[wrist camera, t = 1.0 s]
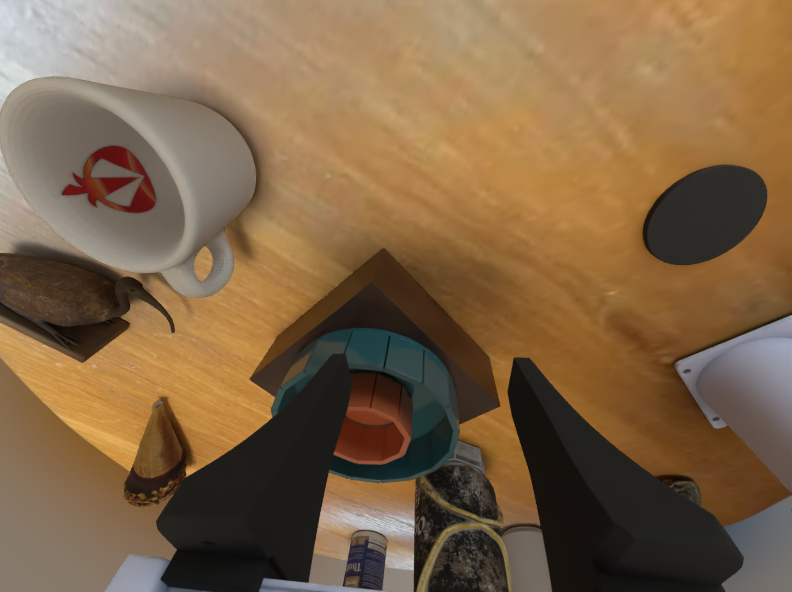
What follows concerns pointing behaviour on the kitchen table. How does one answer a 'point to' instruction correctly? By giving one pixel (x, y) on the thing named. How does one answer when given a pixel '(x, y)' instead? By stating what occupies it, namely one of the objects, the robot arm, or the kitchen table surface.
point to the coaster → (705, 214)
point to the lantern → (459, 529)
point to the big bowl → (405, 366)
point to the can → (527, 559)
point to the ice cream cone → (156, 463)
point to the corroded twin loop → (686, 490)
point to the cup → (129, 175)
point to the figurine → (66, 304)
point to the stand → (392, 311)
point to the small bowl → (375, 420)
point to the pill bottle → (366, 561)
